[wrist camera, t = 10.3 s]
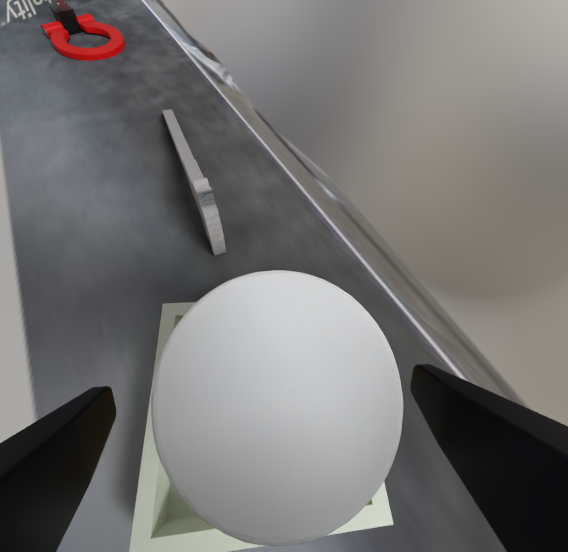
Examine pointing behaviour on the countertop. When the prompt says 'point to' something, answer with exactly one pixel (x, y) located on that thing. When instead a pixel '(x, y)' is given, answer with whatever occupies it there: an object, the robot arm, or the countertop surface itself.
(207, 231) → the caliper
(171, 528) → the sage tray
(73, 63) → the countertop surface
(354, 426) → the supplement bottle
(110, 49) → the tow hook
